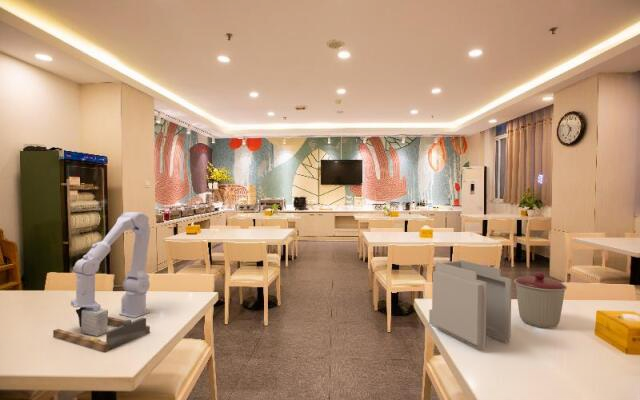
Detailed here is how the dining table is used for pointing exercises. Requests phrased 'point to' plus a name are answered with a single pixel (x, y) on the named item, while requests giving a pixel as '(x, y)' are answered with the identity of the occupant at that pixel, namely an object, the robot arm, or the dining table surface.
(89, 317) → the medicine box
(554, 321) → the canister
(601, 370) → the dining table surface
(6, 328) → the dining table surface
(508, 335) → the grey napkin holder
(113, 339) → the brown piece
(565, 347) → the dining table surface
